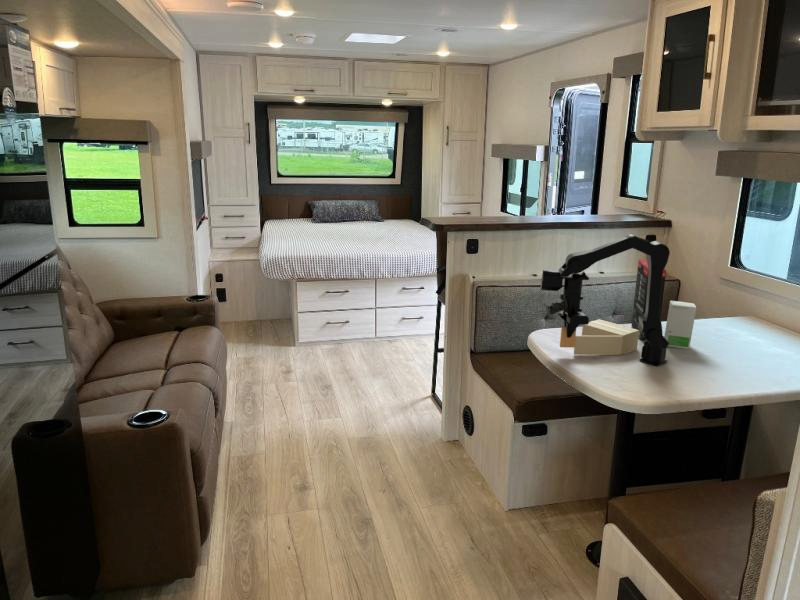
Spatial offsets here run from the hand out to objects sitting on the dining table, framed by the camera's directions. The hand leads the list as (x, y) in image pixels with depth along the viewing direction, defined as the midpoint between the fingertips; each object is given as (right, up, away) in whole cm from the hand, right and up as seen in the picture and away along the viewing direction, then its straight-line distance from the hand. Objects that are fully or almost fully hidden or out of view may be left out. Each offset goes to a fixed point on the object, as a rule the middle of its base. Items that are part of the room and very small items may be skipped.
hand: (568, 336), depth 198 cm
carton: (+18, -4, +12) cm, 22 cm away
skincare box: (+43, -4, +14) cm, 45 cm away
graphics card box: (+36, -1, +26) cm, 44 cm away
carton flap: (+8, -6, +2) cm, 10 cm away
